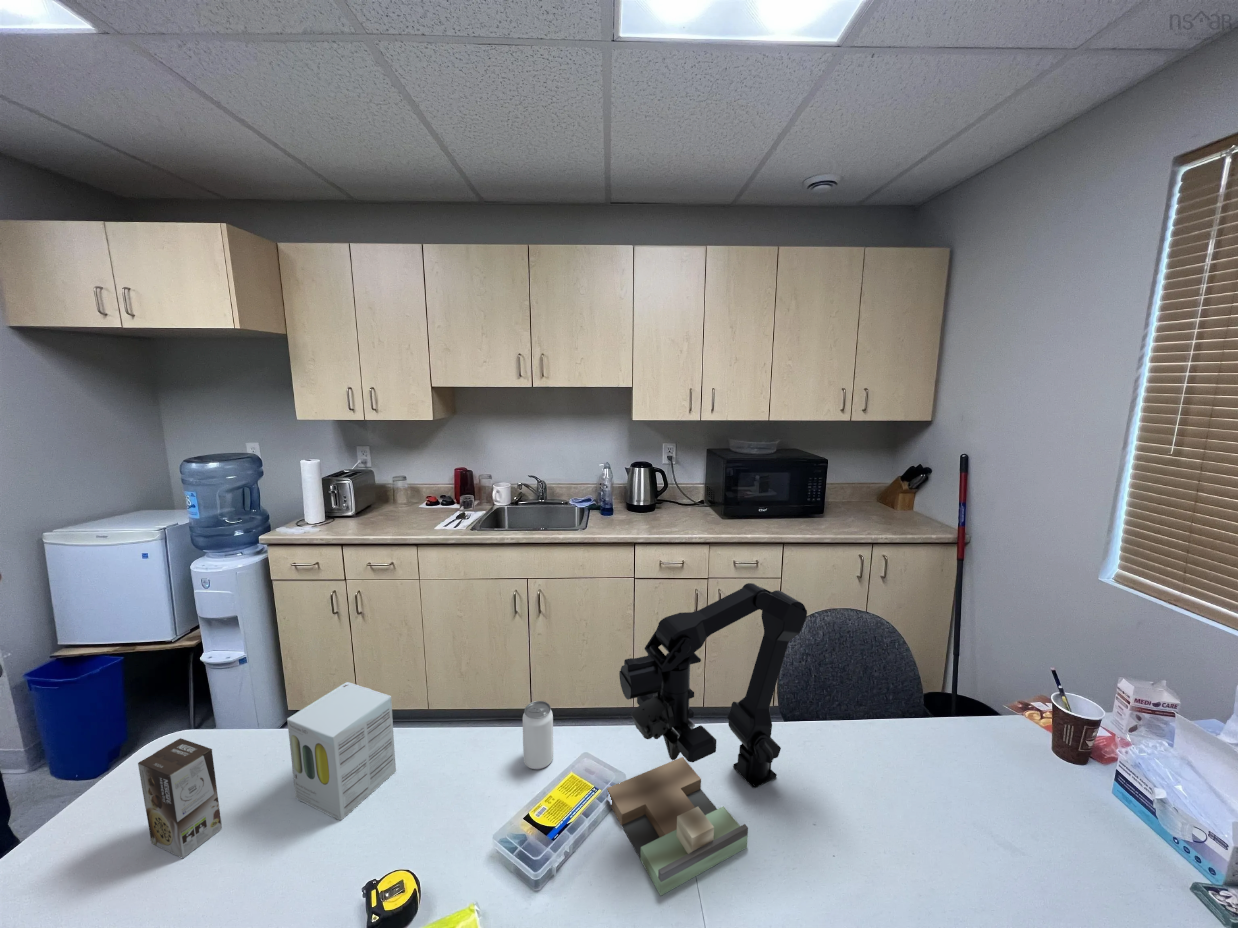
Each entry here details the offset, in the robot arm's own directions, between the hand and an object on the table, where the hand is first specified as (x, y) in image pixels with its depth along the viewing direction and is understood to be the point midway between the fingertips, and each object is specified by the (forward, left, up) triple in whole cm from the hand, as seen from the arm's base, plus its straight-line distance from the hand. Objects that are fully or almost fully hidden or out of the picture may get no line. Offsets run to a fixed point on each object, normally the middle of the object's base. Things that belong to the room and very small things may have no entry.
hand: (673, 758), depth 90 cm
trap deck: (+3, +4, -9) cm, 10 cm away
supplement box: (+57, -33, -9) cm, 67 cm away
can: (+21, -22, -9) cm, 31 cm away
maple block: (+3, +11, -7) cm, 13 cm away
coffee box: (+83, -33, -9) cm, 89 cm away
